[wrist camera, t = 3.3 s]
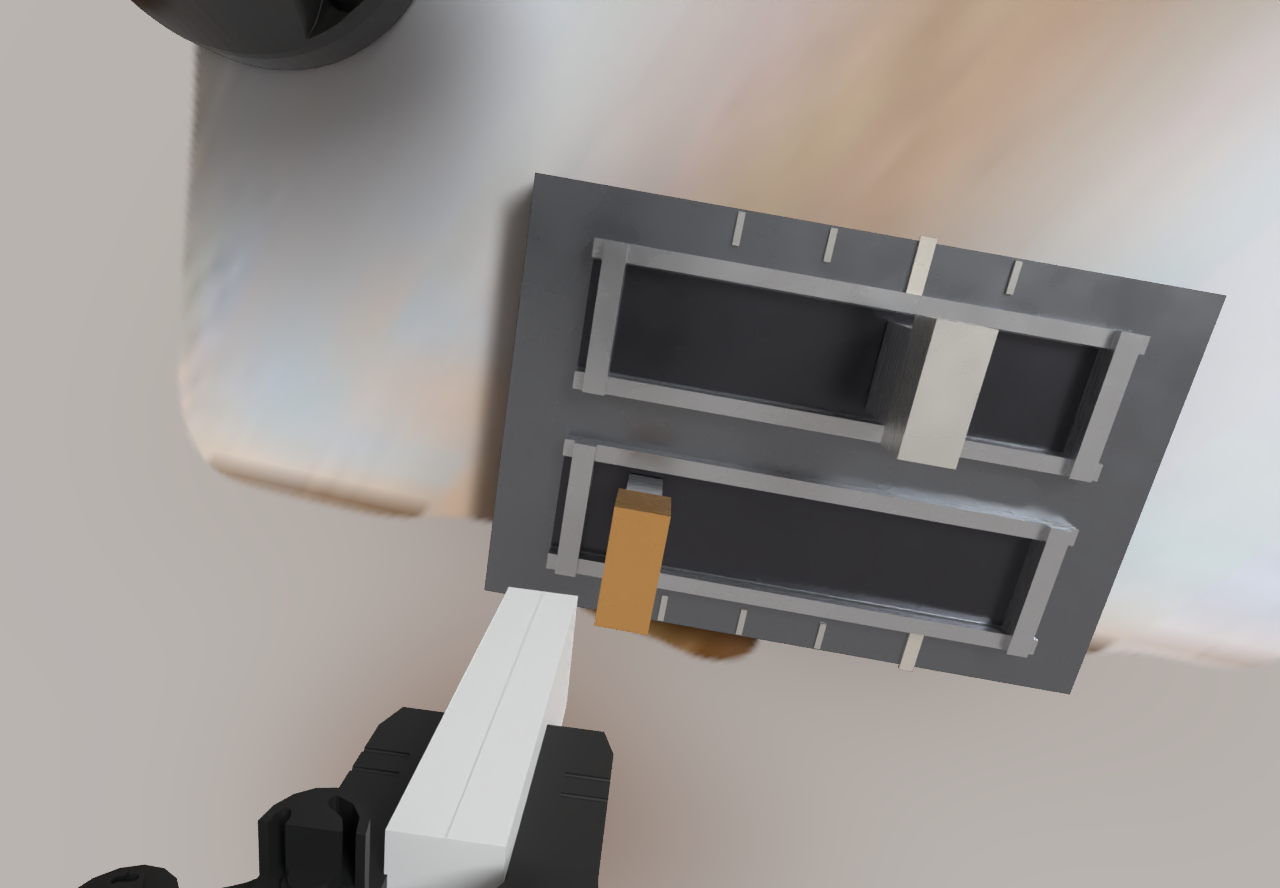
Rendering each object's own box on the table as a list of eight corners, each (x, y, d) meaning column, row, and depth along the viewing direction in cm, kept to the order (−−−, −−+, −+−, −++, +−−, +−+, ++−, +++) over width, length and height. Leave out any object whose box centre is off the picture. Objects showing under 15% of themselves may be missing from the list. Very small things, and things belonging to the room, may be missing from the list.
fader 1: (608, 560, 34) (594, 625, 28) (625, 460, 33) (614, 506, 27) (652, 568, 34) (647, 635, 28) (671, 468, 33) (670, 516, 27)
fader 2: (854, 420, 32) (897, 459, 26) (885, 306, 30) (936, 318, 24) (902, 428, 32) (955, 469, 26) (934, 315, 30) (998, 329, 24)
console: (493, 575, 37) (477, 605, 34) (544, 173, 31) (530, 164, 28) (1047, 674, 37) (1081, 712, 34) (1194, 288, 31) (1250, 292, 28)
